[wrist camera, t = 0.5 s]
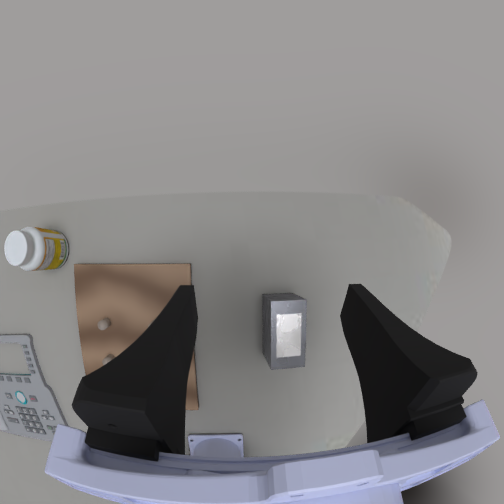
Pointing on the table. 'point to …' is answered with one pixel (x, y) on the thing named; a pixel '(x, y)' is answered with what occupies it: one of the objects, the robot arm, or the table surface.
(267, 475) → the robot arm
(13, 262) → the supplement bottle
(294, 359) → the block
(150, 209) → the table surface
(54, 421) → the office telephone
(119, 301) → the pin tray
